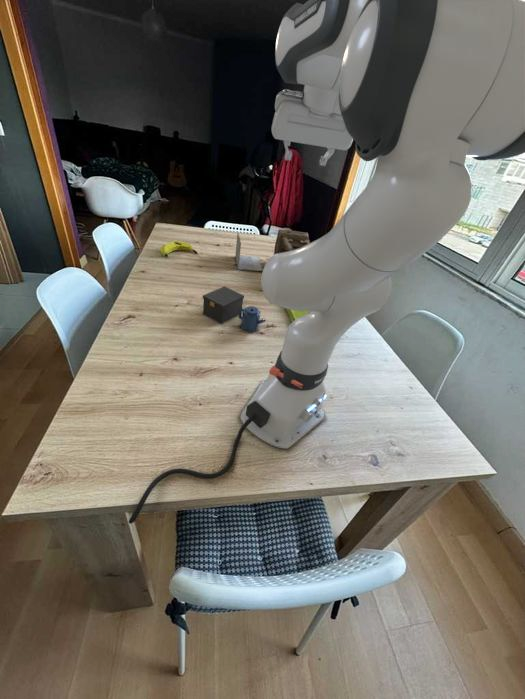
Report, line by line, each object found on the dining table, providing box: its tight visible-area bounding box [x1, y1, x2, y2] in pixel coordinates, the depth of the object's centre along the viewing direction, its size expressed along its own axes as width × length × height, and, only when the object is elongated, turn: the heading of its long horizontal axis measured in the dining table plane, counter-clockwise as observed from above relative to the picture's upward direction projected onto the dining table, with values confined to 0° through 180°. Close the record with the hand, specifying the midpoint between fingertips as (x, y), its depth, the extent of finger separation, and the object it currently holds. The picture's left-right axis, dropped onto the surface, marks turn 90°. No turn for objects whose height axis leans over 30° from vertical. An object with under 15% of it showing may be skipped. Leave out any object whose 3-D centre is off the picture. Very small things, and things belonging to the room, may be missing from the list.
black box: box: [202, 286, 245, 324], centre depth 105 cm, size 12×10×7 cm
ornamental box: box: [273, 229, 311, 255], centre depth 140 cm, size 35×18×18 cm, turn 8°
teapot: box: [238, 305, 267, 333], centre depth 100 cm, size 11×6×8 cm, turn 55°
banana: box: [160, 240, 198, 258], centre depth 146 cm, size 5×17×15 cm
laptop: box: [234, 232, 264, 272], centre depth 146 cm, size 18×12×13 cm
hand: (304, 162), depth 77 cm, fingers open, 8 cm apart
